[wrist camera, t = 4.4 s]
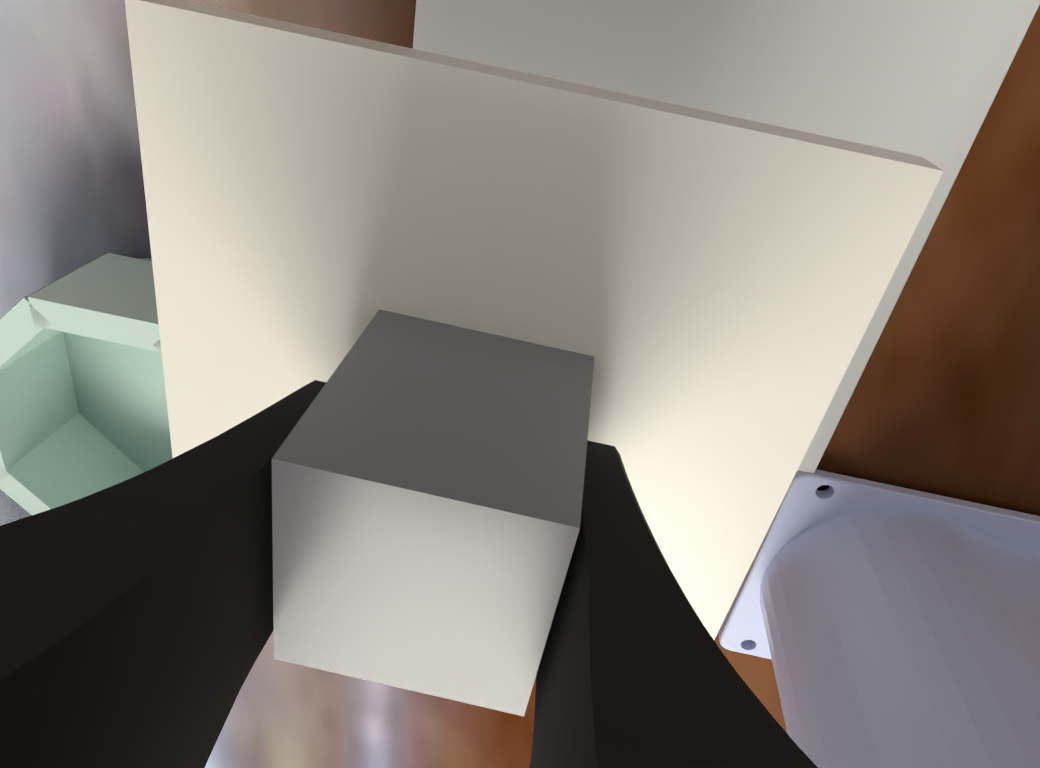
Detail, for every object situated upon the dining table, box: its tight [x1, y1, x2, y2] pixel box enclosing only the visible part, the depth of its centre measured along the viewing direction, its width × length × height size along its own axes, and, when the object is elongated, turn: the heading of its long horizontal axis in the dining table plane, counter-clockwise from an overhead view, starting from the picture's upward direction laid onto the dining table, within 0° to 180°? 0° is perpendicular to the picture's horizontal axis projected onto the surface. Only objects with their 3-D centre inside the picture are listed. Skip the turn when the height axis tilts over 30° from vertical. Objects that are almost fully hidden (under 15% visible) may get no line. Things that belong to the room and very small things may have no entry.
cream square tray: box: [413, 0, 1040, 473], centre depth 18 cm, size 13×13×1 cm
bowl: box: [0, 253, 173, 515], centre depth 21 cm, size 9×9×4 cm
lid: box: [125, 0, 944, 716], centre depth 11 cm, size 11×11×5 cm
